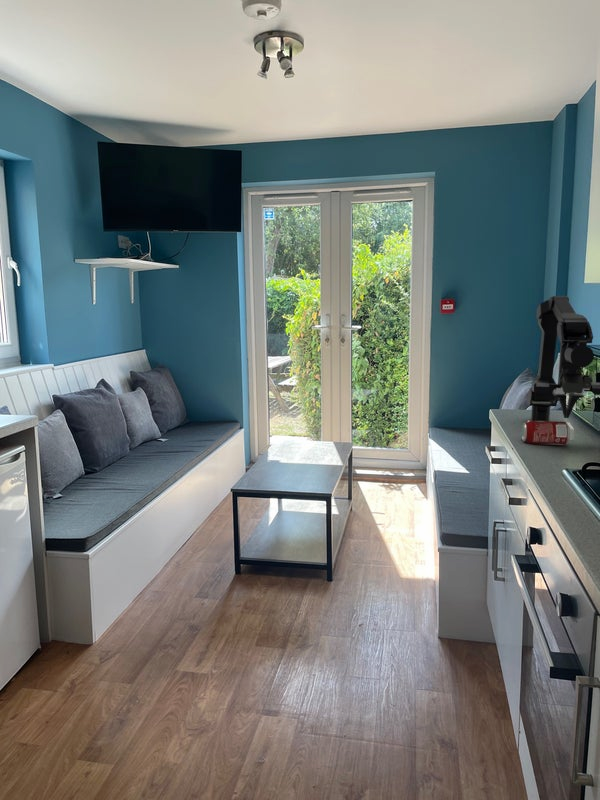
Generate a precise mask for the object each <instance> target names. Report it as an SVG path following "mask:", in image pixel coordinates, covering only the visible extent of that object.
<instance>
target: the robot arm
mask: <svg viewBox="0 0 600 800" xmlns="http://www.w3.org/2000/svg"><path fill="white" fill-rule="evenodd" d="M536 319H537V324H538V326H539V328H540V329H541V339H540V340H541V341H540V348H539V349H540V350H539V360H538V370H537V371H538V373H537V375H536V376H535V377H534V379H533V380H532V381H531V387H529V389H528V393H527V396H526V405H528V406H529V407H531V415H530V418H529V419H528V421H551V420H550V417H551V407H557V406H558V402H559V404H560V408H561V412H562V415H563V418H564V419H569V418H570V415H571V413H572V412H573V409H574V407H575V405H576V403H577V402H578V401H579V400H580V399H581V398H585V395H584V393H585V392H586V393H587V392H588V393H589V392H591V393H593V395H595V396H600V382H594V381H592V380H593V378H592V375H591V374H590V375H589V374H584V375H583V374H582V371H583V370H582V369H583V368H585V367H588V366H590V365H591V364H592V362H593V361H594V358H595V353H594V351H593V349H592V348H591V347H590V346H588V344H592V343H593V339H594V334H593V331H592V330H593V329H592V326H591V325H590V322H589V321H588V318H587V317H585V316H584V315H583V314H579V313H576V311H575V310H574V308H573V306H572V305H571V303H570V297H569V296H566V295H552V296H550V297H549V298H548V299H547V300H545V301H543V302H540V303H539V305H538V307H537V309H536ZM557 338H558V340H557ZM557 341H559V343H560V350H559V360H558V361H559V363H558V376H557V383H556V380H555V379H554V367H555V358H556V349H557V348H556V347H557ZM567 394H568V395H567ZM567 396H568V398H567Z"/></svg>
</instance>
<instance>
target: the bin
mask: <svg viewBox="0 0 600 800" xmlns="http://www.w3.org/2000/svg"><path fill="white" fill-rule="evenodd" d="M527 422H529V420H527ZM527 422H526V423H527ZM566 422H567V421H566ZM567 424H568V425H569V427H570V439H569V441H571V442H572V441H574V435H575V429H574V427H573V426H572V424H571V423H570V422H569V421H568V422H567Z"/></svg>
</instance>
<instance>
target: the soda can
mask: <svg viewBox="0 0 600 800" xmlns="http://www.w3.org/2000/svg"><path fill="white" fill-rule="evenodd" d="M528 421H529V420H528ZM521 439H522V441H523V442H524V443H525V442H526V443H528V444H532V445H548V446H549V445H550V446H551V445H553V446H567V444H568V443H569V441H570V440H569V439H570V427H569V425H568V424H567V421H555V420H554V421H553V420H552V421H551V420H550V421H529V422H523V424H522V425H521Z"/></svg>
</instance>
